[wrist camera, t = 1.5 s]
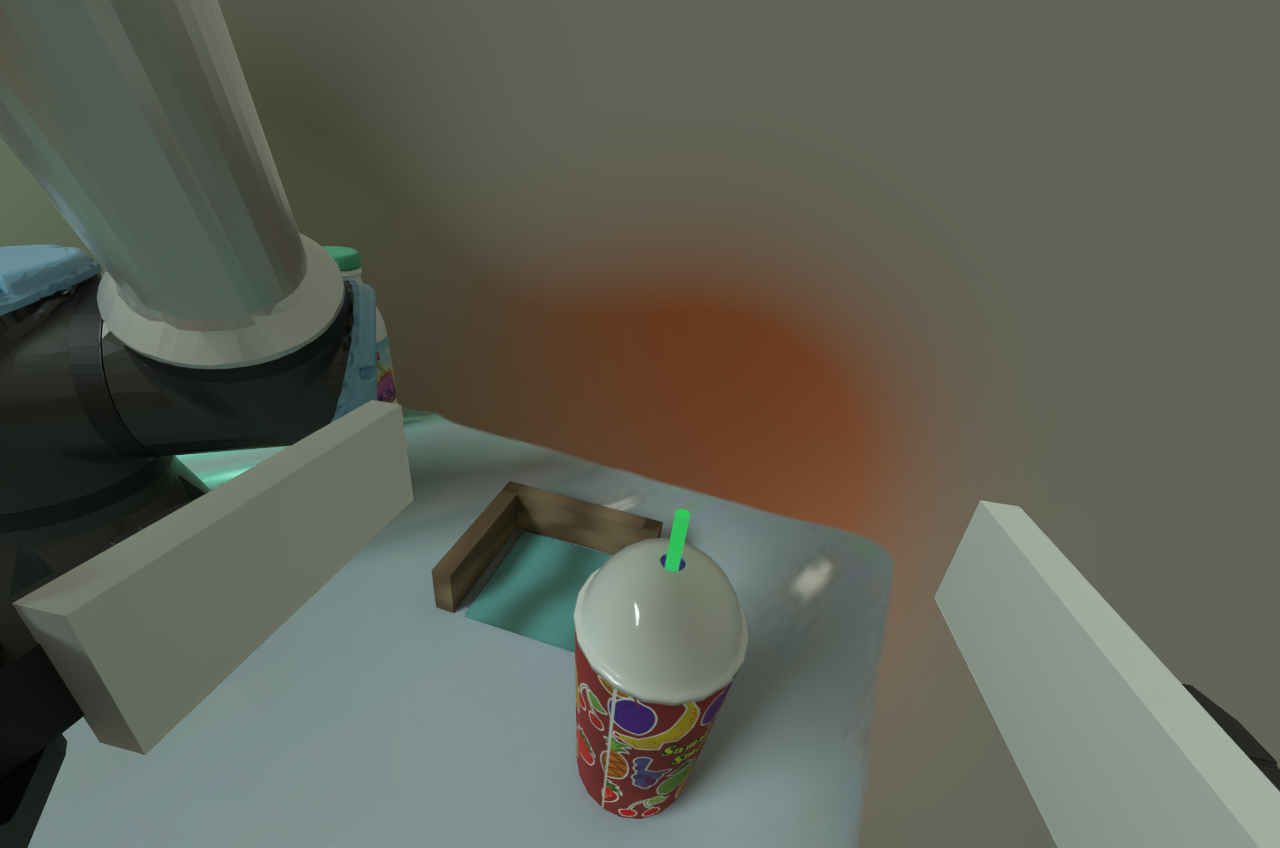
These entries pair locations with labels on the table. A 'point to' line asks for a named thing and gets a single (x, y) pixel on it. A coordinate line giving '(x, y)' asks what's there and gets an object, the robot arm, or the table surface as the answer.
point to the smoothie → (652, 669)
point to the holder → (535, 560)
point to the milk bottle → (385, 379)
